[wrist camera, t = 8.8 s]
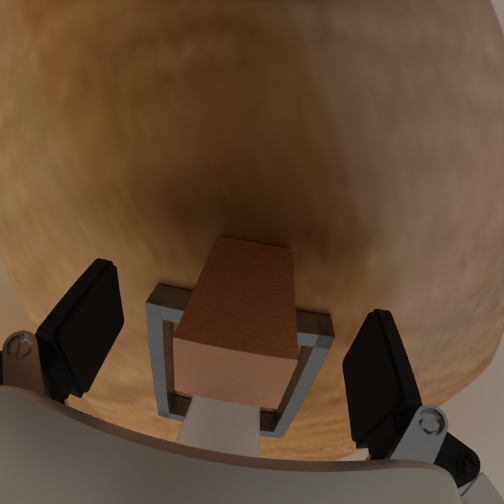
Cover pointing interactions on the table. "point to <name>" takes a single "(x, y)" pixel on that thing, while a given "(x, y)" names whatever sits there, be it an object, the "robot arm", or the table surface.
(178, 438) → the drinking glass
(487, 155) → the table surface
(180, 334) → the frame
